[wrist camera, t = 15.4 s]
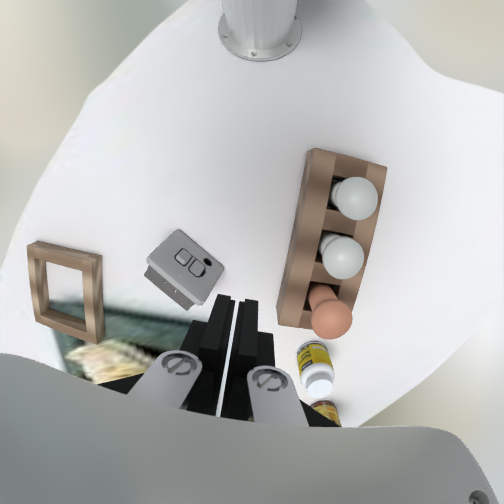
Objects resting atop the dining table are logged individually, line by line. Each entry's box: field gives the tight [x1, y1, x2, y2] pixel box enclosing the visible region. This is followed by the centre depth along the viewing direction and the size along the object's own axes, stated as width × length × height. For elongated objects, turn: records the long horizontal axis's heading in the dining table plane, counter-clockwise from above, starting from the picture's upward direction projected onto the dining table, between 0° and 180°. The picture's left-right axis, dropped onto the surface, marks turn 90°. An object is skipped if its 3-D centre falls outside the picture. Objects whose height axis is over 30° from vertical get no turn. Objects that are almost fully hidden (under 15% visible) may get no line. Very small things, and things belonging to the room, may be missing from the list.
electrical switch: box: [144, 230, 224, 311], centre depth 39 cm, size 9×5×9 cm, turn 49°
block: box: [276, 148, 387, 330], centre depth 39 cm, size 24×10×6 cm, turn 170°
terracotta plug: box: [307, 281, 352, 339], centre depth 36 cm, size 5×5×10 cm
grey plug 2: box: [318, 229, 364, 279], centre depth 36 cm, size 5×5×10 cm
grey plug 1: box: [328, 177, 378, 220], centre depth 35 cm, size 5×5×10 cm
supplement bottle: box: [297, 342, 334, 398], centre depth 43 cm, size 5×5×10 cm
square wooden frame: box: [27, 241, 105, 344], centre depth 44 cm, size 16×16×4 cm
